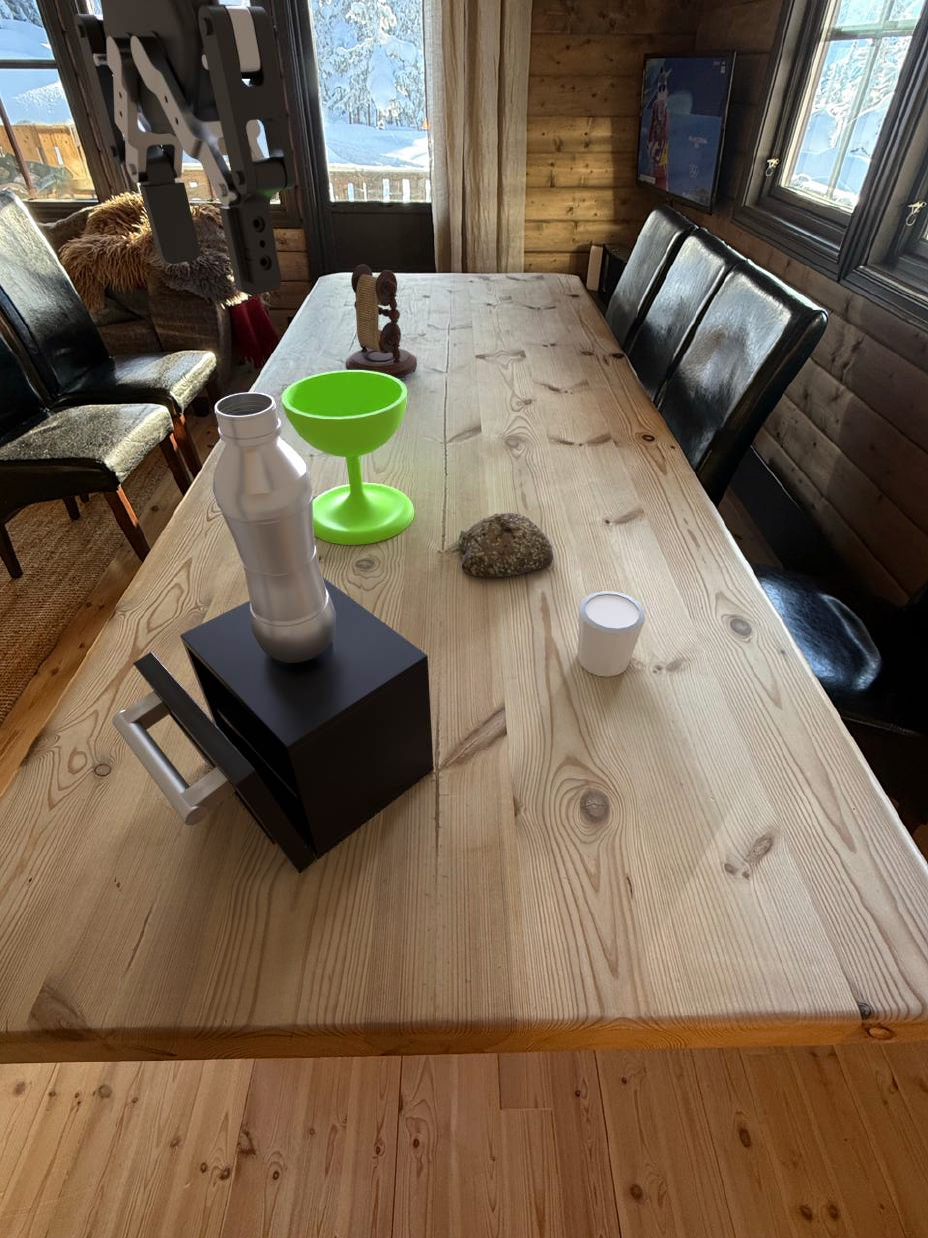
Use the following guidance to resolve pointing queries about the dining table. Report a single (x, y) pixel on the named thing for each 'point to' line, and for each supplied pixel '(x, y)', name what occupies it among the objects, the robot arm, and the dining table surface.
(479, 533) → the bread roll
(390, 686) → the oven
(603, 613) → the white cylindrical container
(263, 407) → the silver bottle
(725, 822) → the dining table surface
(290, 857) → the oven door
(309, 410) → the wineglass
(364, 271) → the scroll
